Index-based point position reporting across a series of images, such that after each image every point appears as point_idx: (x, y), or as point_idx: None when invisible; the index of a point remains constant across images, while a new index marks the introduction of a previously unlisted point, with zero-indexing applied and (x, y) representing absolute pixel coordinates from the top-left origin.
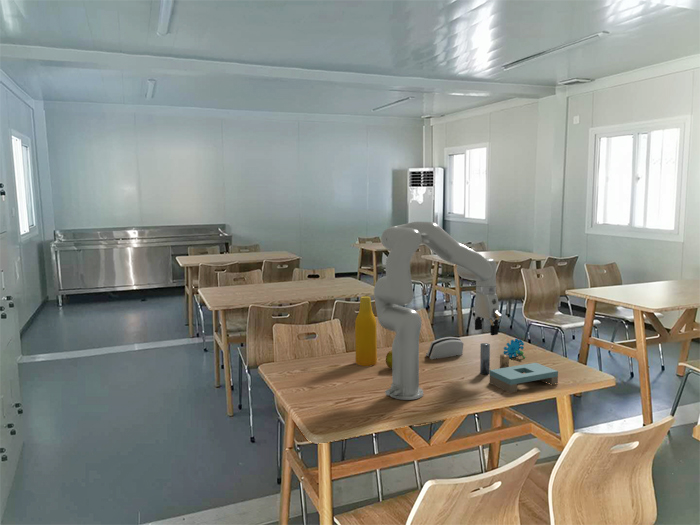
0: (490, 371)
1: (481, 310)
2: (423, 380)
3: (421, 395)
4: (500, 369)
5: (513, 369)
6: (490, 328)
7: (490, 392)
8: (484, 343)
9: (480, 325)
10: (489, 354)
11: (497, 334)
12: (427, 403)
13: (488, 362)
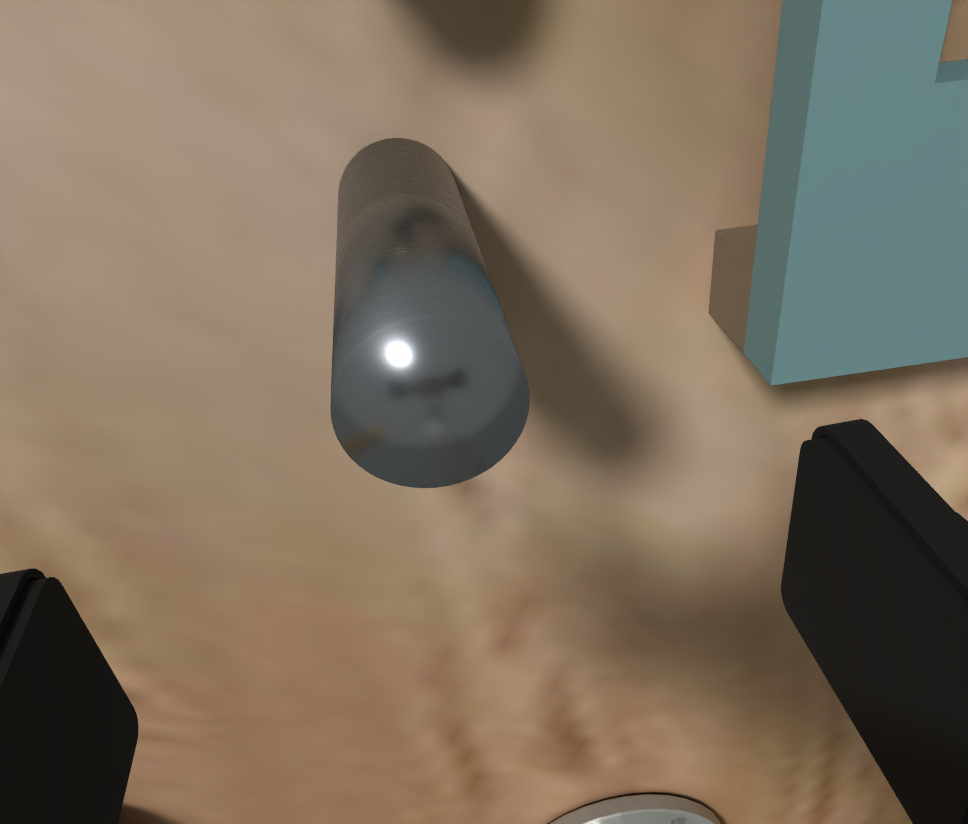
0: (780, 377)
1: None
2: (407, 743)
3: (711, 816)
4: (826, 249)
5: (937, 69)
6: (880, 765)
7: (903, 419)
8: (370, 396)
9: (33, 729)
10: (476, 260)
11: (853, 423)
12: (803, 796)
13: (475, 237)
